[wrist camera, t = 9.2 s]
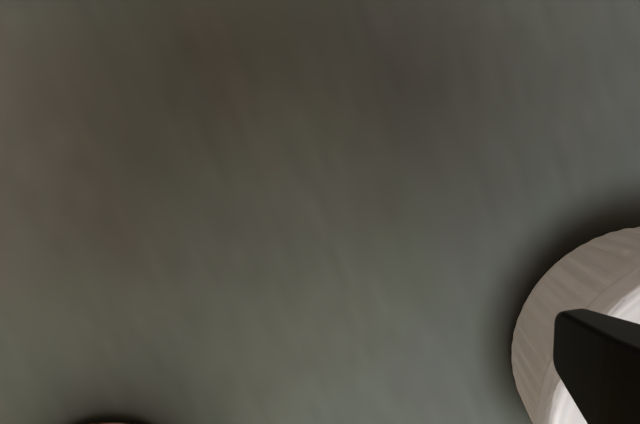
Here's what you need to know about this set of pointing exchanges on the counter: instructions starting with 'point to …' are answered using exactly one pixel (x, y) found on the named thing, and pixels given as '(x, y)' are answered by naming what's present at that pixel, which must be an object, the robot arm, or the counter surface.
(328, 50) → the counter surface
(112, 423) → the sauce bottle
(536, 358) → the ramekin
